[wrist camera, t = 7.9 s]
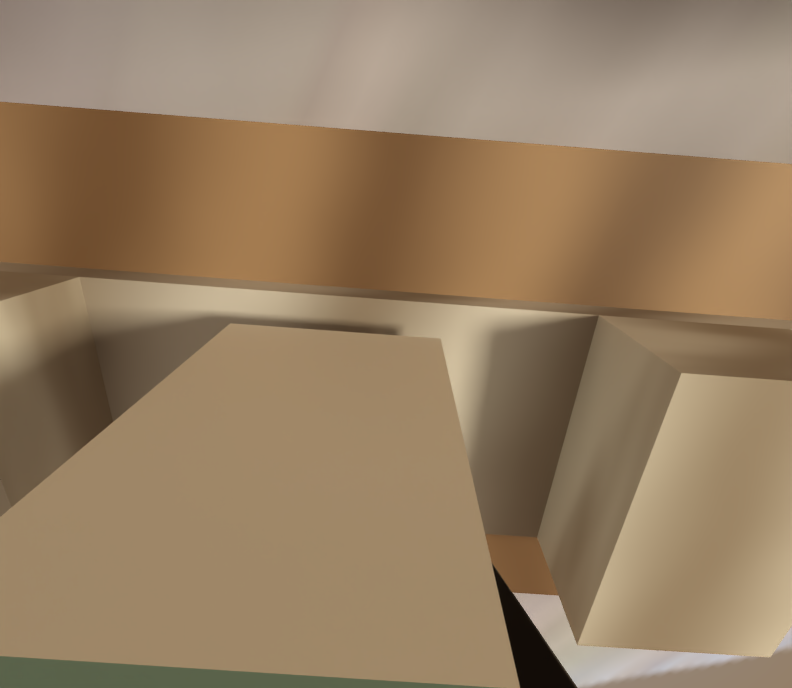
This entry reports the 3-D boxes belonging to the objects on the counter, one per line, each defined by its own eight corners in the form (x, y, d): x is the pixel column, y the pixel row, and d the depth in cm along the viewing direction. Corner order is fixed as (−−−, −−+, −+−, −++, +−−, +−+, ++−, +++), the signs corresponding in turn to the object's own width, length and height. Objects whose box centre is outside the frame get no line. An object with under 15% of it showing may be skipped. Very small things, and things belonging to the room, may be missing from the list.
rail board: (828, 171, 10) (1184, 166, 5) (648, 576, 15) (751, 742, 11) (-133, 95, 9) (-607, 23, 5) (30, 535, 15) (-129, 688, 10)
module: (440, 338, 9) (549, 818, 2) (415, 543, 11) (432, 1073, 4) (230, 323, 9) (-302, 769, 2) (249, 532, 11) (23, 1050, 4)
